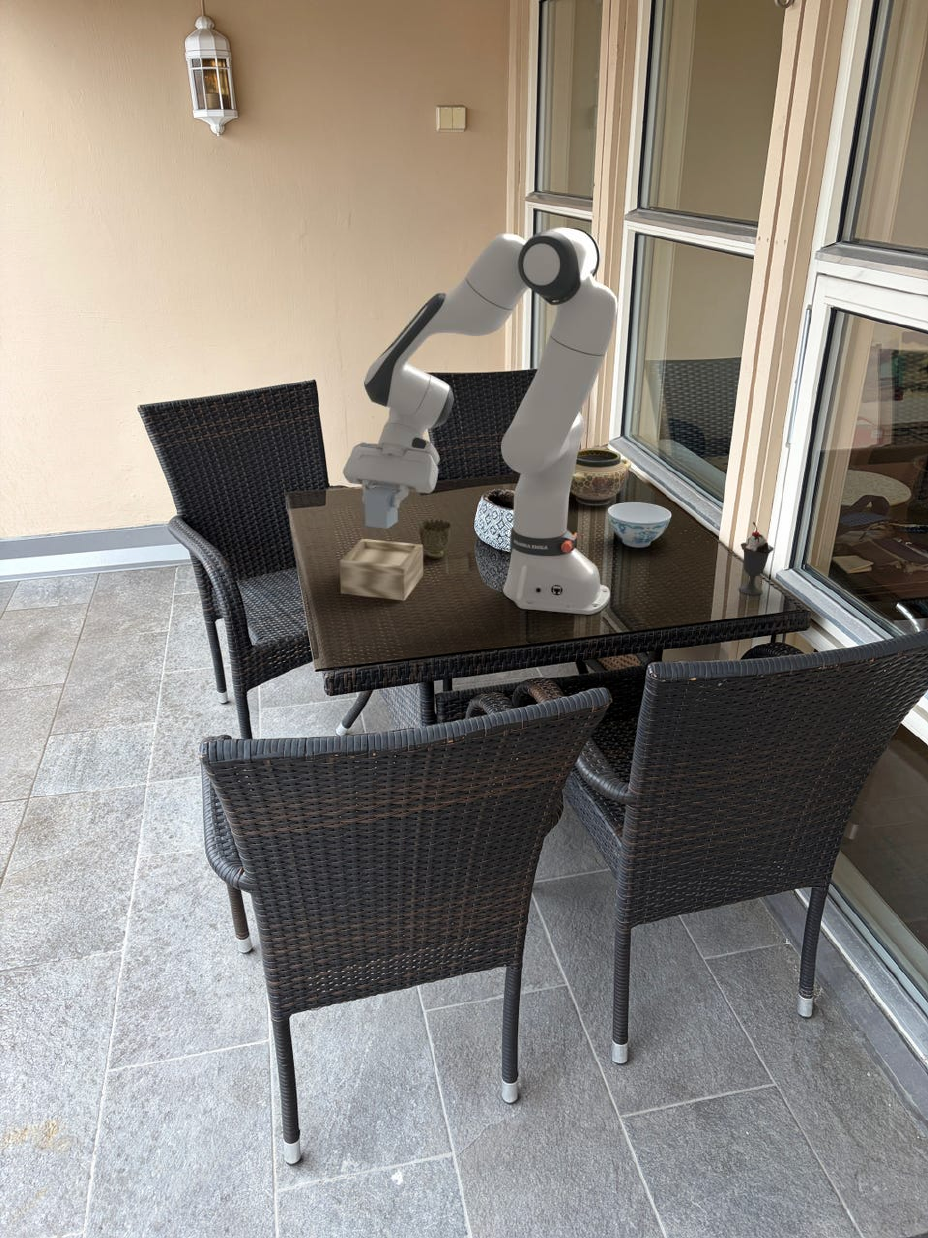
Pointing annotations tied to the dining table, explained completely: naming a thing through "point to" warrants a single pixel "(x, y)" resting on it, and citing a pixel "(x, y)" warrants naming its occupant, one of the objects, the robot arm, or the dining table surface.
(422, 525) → the cup
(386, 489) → the slate block
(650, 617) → the dining table surface
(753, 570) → the sundae
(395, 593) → the maple box
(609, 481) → the ceramic bowl
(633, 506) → the chinaware
